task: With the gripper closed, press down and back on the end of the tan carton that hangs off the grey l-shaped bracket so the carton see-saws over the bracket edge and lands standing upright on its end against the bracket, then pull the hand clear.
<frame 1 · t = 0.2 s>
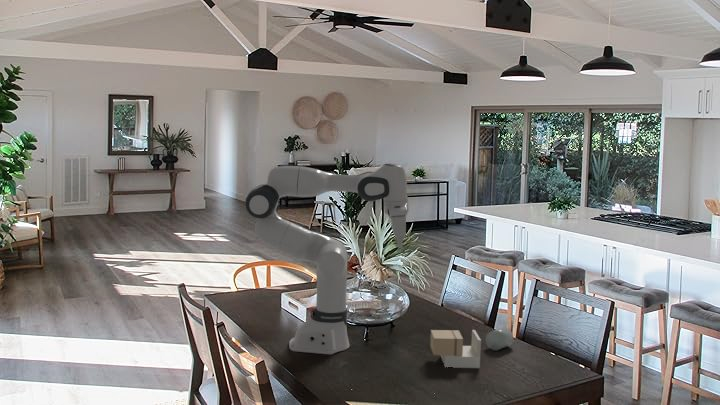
hand: (399, 245, 240), 39 cm above the table, tool pointing down, fingers open, 8 cm apart
carton: (446, 350, 231), point 4 cm above the table, touching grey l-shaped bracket
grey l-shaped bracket: (459, 361, 231), on the table
grey rounded stone: (493, 341, 244), point 3 cm above the table, tilted 90°
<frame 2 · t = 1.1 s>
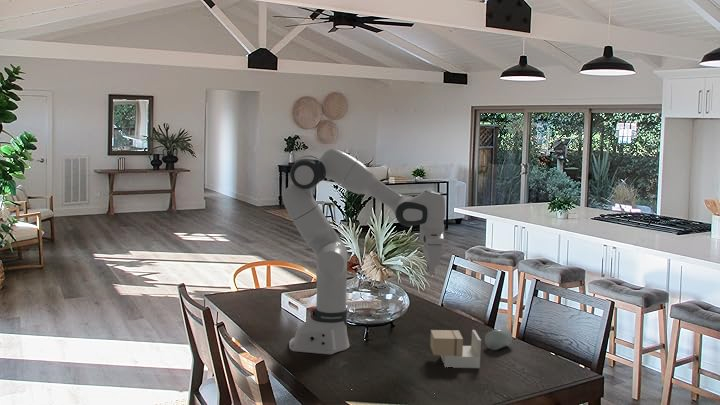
hand: (430, 272, 239), 29 cm above the table, tool pointing down, fingers open, 5 cm apart
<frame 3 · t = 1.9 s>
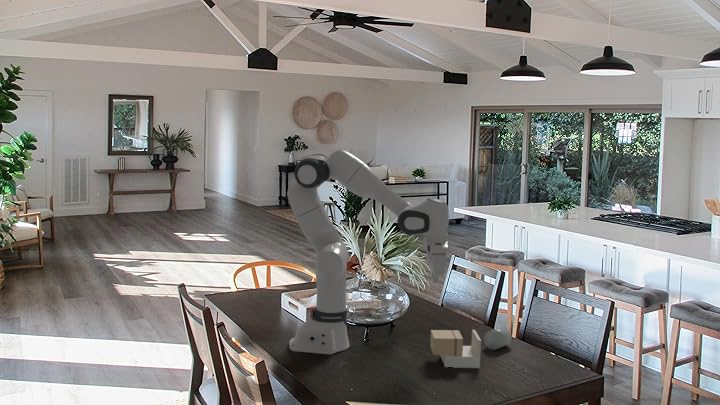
hand: (434, 282, 235), 27 cm above the table, tool pointing down, fingers closed
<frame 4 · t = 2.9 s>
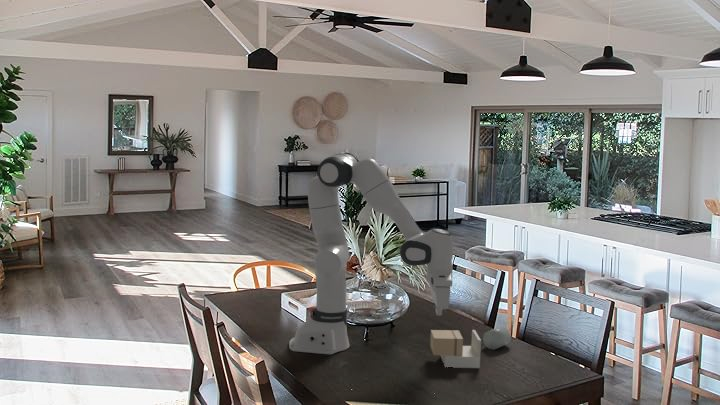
hand: (438, 314, 229), 17 cm above the table, tool pointing down, fingers closed
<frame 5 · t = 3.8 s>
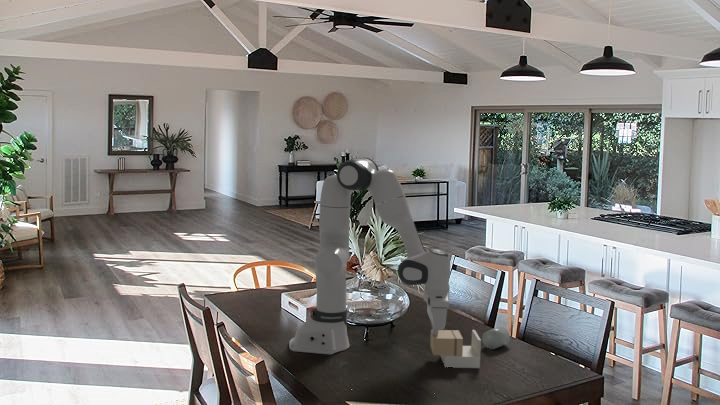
hand: (434, 334, 230), 10 cm above the table, tool pointing down, fingers closed, pressing on carton
carton: (446, 350, 231), point 4 cm above the table, touching gripper, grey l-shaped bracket
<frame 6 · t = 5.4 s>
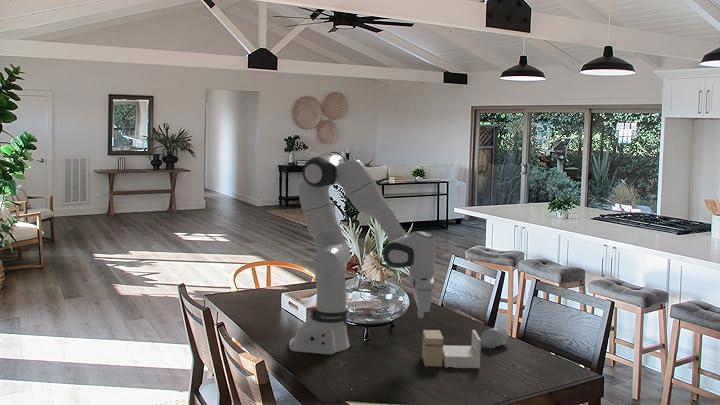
hand: (420, 316, 229), 16 cm above the table, tool pointing down, fingers closed
carton: (440, 348, 231), point 5 cm above the table, tilted 90°
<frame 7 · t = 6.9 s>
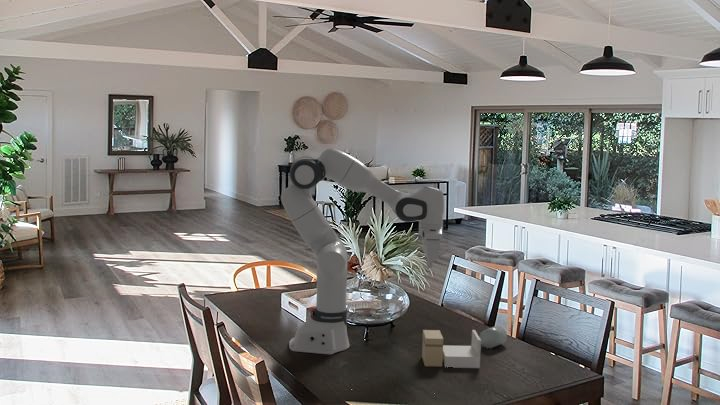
hand: (429, 267, 242), 30 cm above the table, tool pointing down, fingers closed
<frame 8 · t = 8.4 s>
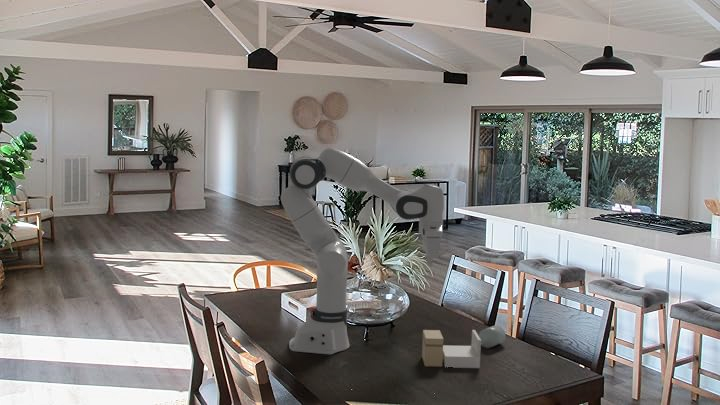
hand: (429, 265, 243), 31 cm above the table, tool pointing down, fingers closed
at the end: carton tilted 90°; carton inside the target area (0.9 cm from its centre), point 4.9 cm above the table; the gripper is holding nothing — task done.
